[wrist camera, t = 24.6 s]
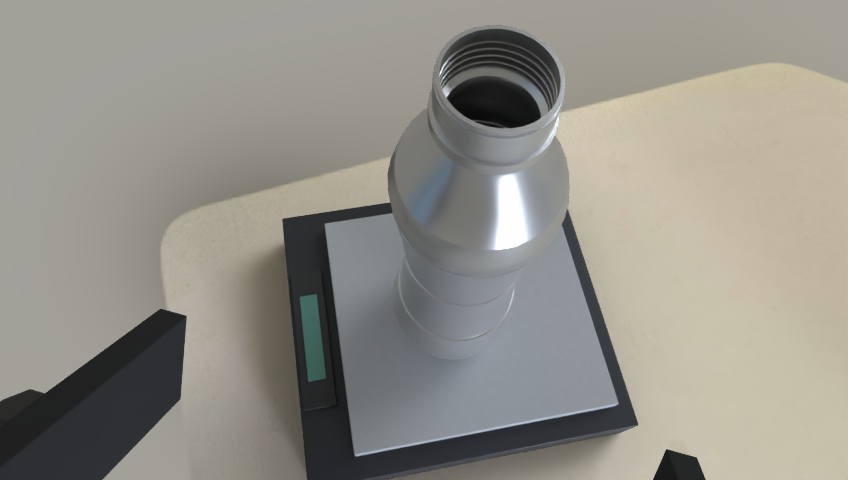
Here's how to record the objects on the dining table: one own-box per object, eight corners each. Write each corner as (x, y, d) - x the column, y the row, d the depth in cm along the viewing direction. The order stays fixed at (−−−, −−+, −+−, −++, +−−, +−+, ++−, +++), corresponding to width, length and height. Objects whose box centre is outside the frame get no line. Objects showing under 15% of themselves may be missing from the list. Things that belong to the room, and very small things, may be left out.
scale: (316, 493, 33) (306, 490, 30) (290, 239, 40) (279, 212, 36) (620, 432, 35) (644, 423, 31) (547, 199, 42) (560, 170, 38)
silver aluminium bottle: (494, 251, 36) (585, -25, 17) (516, 362, 33) (653, 171, 15) (387, 263, 35) (367, -8, 17) (401, 377, 32) (393, 198, 14)
